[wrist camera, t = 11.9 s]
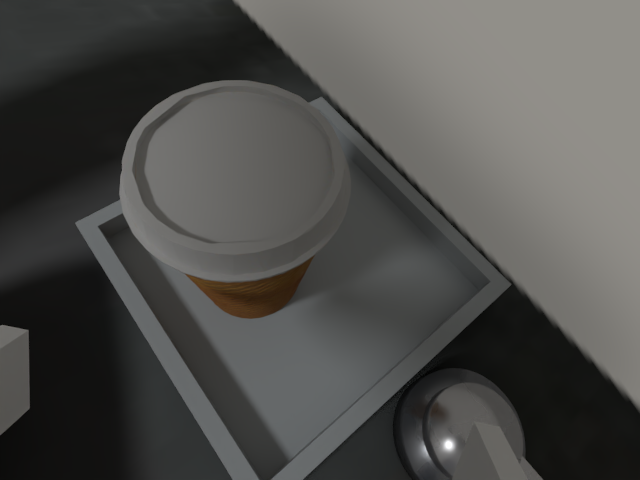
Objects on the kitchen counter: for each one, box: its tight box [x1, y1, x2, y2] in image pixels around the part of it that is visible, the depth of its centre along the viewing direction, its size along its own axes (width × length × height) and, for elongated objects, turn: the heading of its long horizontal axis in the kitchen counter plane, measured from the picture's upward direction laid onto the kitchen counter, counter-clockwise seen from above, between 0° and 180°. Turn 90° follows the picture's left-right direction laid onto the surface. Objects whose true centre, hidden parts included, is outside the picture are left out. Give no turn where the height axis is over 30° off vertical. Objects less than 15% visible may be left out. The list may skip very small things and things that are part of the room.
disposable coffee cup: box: [119, 80, 351, 319], centre depth 21 cm, size 10×10×12 cm
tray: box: [75, 97, 512, 480], centre depth 26 cm, size 20×20×2 cm
